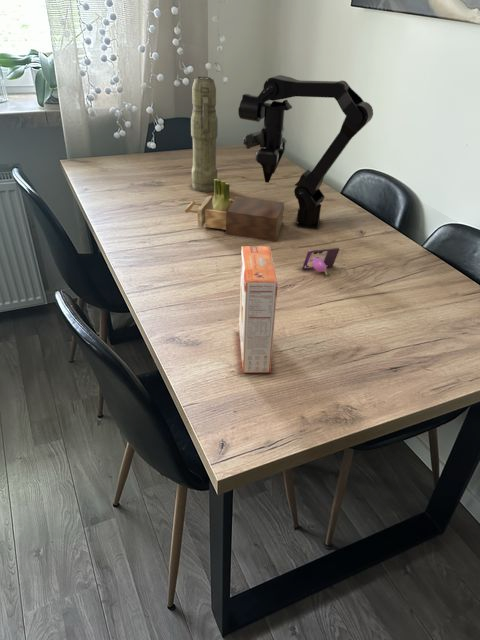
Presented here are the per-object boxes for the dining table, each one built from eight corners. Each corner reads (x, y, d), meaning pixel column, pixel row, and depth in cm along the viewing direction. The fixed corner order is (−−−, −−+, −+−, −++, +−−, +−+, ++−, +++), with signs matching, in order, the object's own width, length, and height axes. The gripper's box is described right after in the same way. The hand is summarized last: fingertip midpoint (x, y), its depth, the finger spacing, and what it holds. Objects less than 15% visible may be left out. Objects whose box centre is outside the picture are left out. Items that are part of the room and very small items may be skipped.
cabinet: (225, 234, 151) (226, 211, 146) (235, 217, 161) (236, 196, 157) (275, 241, 149) (277, 218, 145) (282, 224, 159) (284, 202, 155)
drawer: (182, 224, 152) (181, 206, 149) (194, 210, 162) (193, 193, 158) (244, 233, 150) (244, 215, 147) (252, 218, 159) (253, 201, 156)
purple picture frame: (338, 245, 133) (306, 248, 130) (345, 260, 131) (313, 263, 128) (331, 263, 139) (300, 266, 136) (337, 277, 136) (307, 281, 133)
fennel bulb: (231, 222, 154) (232, 182, 146) (215, 223, 152) (216, 184, 145) (224, 215, 158) (225, 176, 151) (209, 216, 156) (209, 177, 149)
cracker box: (237, 333, 110) (240, 244, 97) (264, 333, 111) (271, 245, 98) (240, 374, 99) (244, 280, 86) (270, 374, 99) (279, 280, 87)
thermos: (195, 193, 175) (194, 81, 154) (189, 182, 184) (186, 74, 163) (220, 192, 178) (222, 81, 157) (213, 181, 187) (213, 74, 166)
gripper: (253, 114, 156) (250, 165, 166) (239, 128, 142) (237, 184, 151) (288, 118, 155) (284, 170, 164) (278, 133, 140) (274, 188, 150)
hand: (269, 177), depth 157 cm, fingers open, 9 cm apart
